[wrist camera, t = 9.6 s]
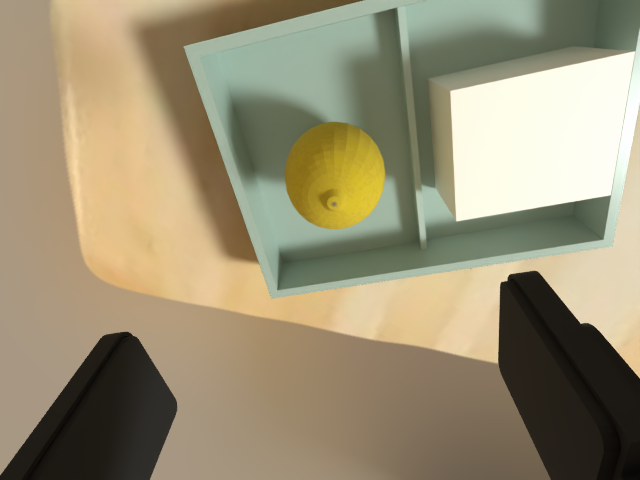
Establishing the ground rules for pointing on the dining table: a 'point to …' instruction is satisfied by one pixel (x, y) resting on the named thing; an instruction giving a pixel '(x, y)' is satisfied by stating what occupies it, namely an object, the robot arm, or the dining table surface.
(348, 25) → the tray
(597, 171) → the carton
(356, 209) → the lemon
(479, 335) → the dining table surface
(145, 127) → the dining table surface
